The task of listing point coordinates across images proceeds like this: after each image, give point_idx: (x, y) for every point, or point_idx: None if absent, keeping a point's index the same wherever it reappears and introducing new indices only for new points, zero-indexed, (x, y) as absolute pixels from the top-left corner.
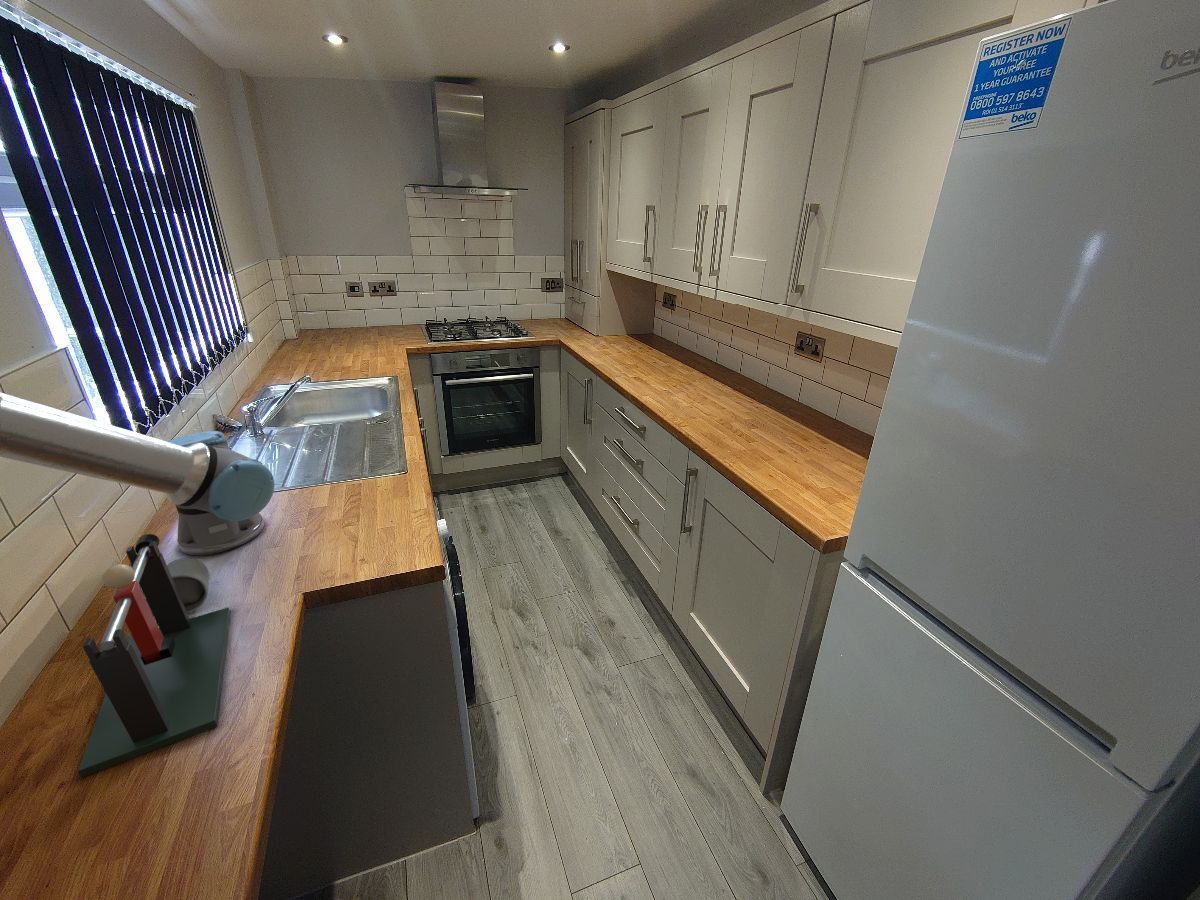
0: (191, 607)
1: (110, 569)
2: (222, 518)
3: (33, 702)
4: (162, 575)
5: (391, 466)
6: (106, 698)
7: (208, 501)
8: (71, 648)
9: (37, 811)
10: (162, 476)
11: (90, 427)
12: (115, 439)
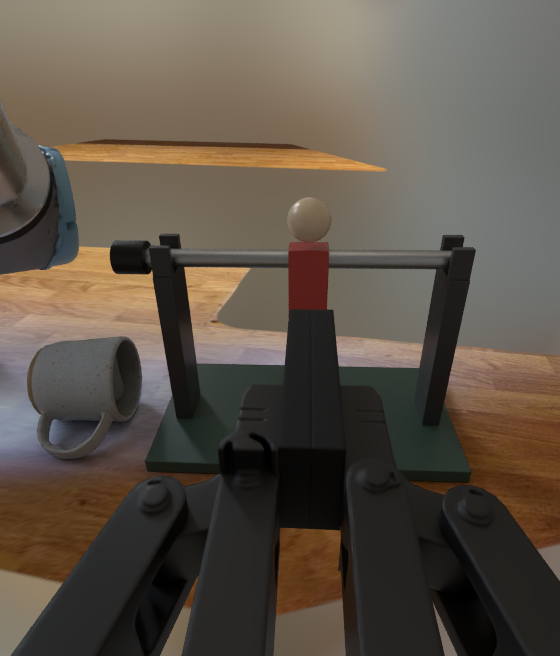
0: (126, 403)
1: (314, 201)
2: (56, 259)
3: None
4: (186, 297)
5: None
6: None
7: (61, 214)
8: (64, 559)
9: (520, 520)
10: (16, 148)
11: None
12: None
